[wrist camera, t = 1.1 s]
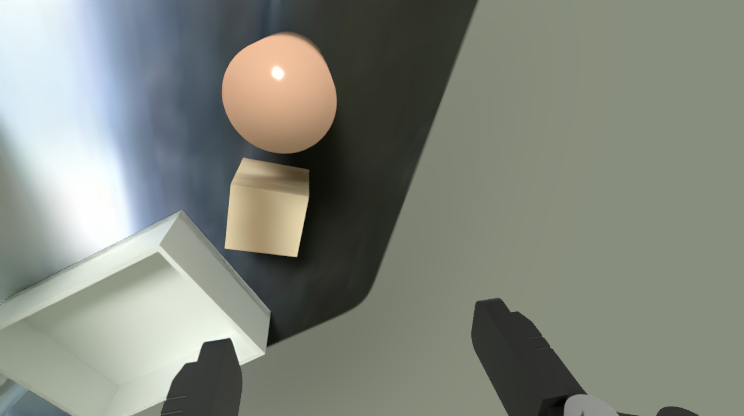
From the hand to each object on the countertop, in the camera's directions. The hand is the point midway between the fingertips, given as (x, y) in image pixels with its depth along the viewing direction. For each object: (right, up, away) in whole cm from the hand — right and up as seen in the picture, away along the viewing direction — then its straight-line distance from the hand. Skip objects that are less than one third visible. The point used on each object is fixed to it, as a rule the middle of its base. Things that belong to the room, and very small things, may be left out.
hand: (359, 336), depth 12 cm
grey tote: (-20, -4, +20) cm, 28 cm away
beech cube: (-8, +6, +17) cm, 20 cm away
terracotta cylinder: (-5, +14, +13) cm, 20 cm away
